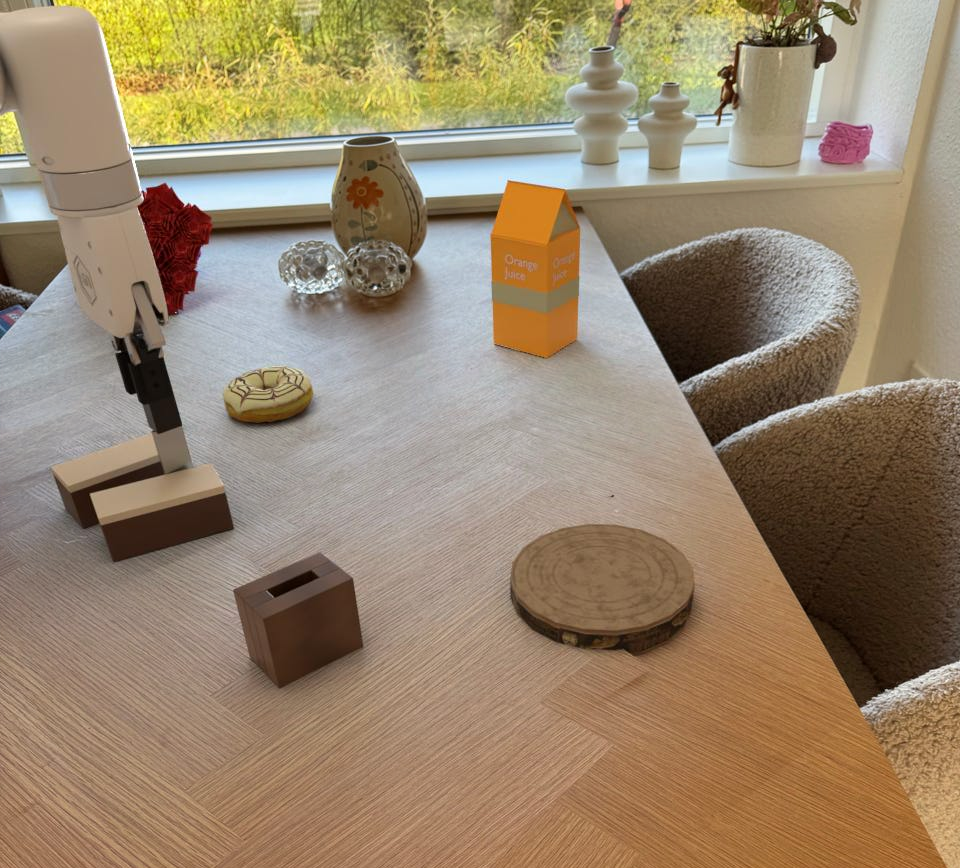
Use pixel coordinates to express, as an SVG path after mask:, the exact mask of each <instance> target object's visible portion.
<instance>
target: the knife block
mask: <svg viewBox="0 0 960 868" xmlns="http://www.w3.org/2000/svg"><path fill="white" fill-rule="evenodd" d="M232 591H233V595H234V600H235V604H236V608H237V612H238V616H239V619H240V623H241V628H242V630H243V635H244V640H245V643H246V646H247V651H248V655H249V658H250V660H251V661H252V662H253V663H254V664H255V665H256V666H257V667H258V668H259V669H260V670H261V671H262V672H263V673H264V675H266V677H267V678H268V679H270V680H271V682H272V683H273V684H274V685H275V686H276V688H278V689H282V688H283V687H286V686H288V685H290V684H292V683H294V682H297V681H298V680H300V679H301V678H303V677H306V676H308V675H309V674H312V673H314V672H316V671H318V670H319V669H322V668H323V667H326V666H328V665H330V664H331V663H334V662H336V661H338V660H339V659H342V658H344V657H346V656H348V655H350V654H352V653H354V652H355V651H358V650H360V649H361V648H363V647H364V641H363V634H362V628H361V621H360V615H359V614H360V613H359V607H358V601H357V595H356V588H355V582H354V578H353V577H352V576H351V574H349V573H348V572H346V571H345V570H344V569H343V568H341V567H340V566H339V565H338V564H337V563H335V562H334V561H332V560H331V559H330V557H328V556H327V555H326V554H324V553H323V552H322V551H318V552H316V553H314V554H311V555H309V556H307V557H305V558H302V559H300V560H298V561H296V562H294V563H291V564H289V565H286V566H284V567H282V568H280V569H277V570H274V571H273V572H271V573H268V574H266V575H264V576H262V577H261V576H260V577H259V578H256V579H254V580H252V581H250V582H248V583H244V584H243V585H241V586H238V587H236V588H233V590H232Z"/></svg>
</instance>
